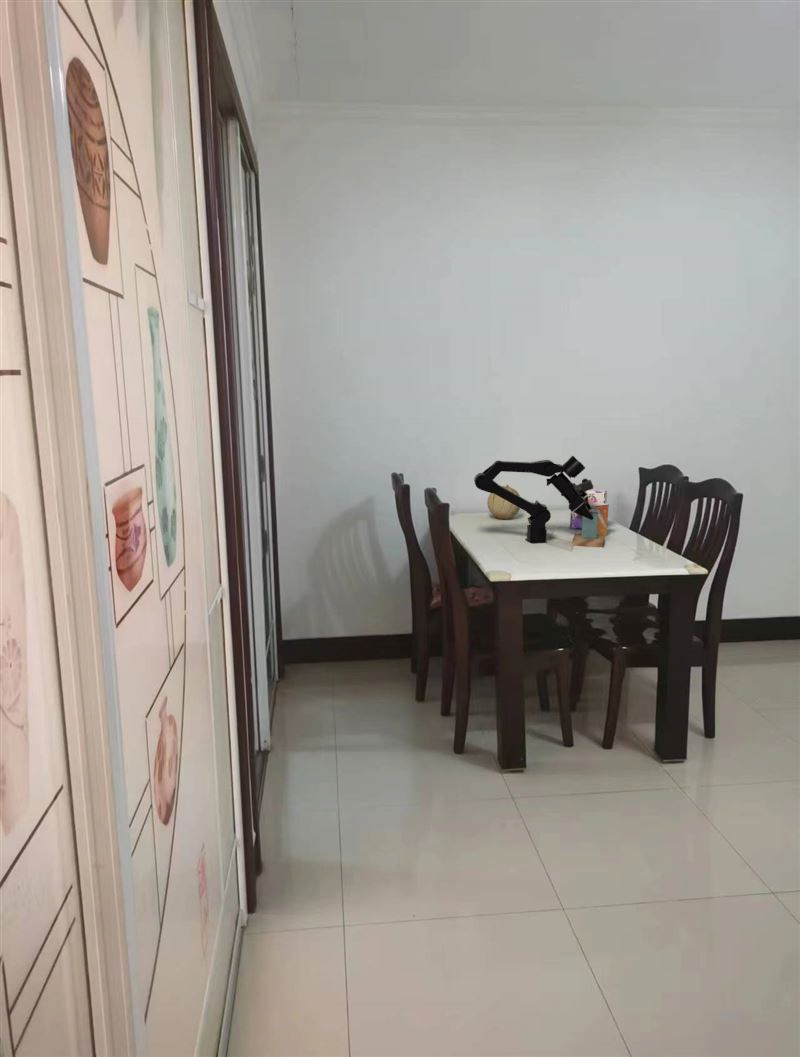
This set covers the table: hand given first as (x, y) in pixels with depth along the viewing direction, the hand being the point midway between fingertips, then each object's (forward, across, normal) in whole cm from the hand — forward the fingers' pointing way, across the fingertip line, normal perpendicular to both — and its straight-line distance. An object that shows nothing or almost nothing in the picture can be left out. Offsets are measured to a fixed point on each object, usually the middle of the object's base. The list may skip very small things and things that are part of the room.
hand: (593, 517), depth 300 cm
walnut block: (+7, 0, +9) cm, 11 cm away
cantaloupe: (-21, +42, +36) cm, 59 cm away
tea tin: (+5, 0, +6) cm, 8 cm away
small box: (+8, +16, +8) cm, 19 cm away
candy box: (+5, +30, +10) cm, 32 cm away
